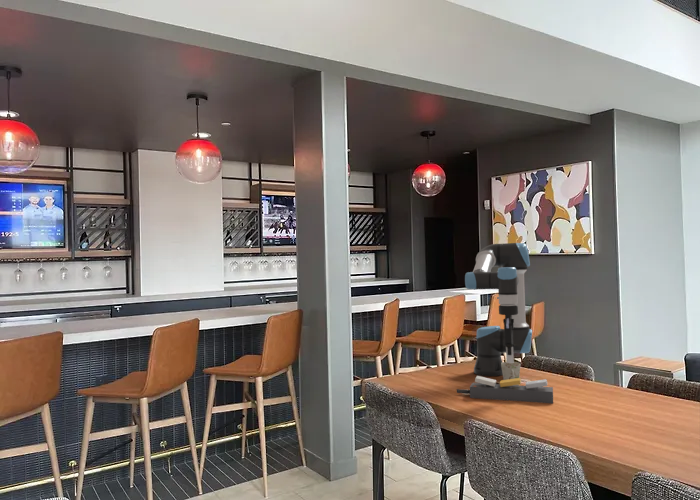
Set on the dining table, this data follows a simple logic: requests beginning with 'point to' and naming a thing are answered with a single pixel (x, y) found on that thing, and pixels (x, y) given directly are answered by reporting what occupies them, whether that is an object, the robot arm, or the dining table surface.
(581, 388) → the dining table surface
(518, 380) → the block
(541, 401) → the power strip
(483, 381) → the block
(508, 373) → the mug
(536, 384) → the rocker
